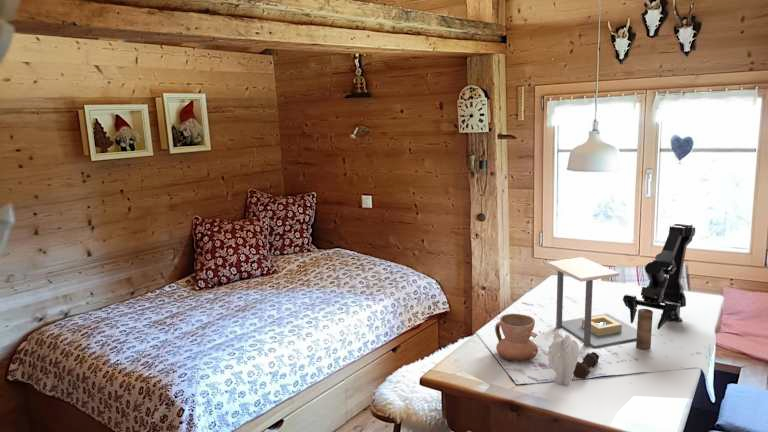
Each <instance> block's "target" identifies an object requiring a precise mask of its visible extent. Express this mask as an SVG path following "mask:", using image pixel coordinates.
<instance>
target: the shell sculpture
mask: <svg viewBox="0 0 768 432" xmlns="http://www.w3.org/2000/svg"><path fill="white" fill-rule="evenodd" d="M552 339H553V340H552V342H551V344H550V345H549V346H548V351H547V355H548V357H547V361H548V363H549V365H550V366H551V368H552V369H553V371H554V373H555V376H554V381H555V383H557V384H560V385H564V386H568V385H570V384H571V382H572V381H573V376H574V374H573V373H574V370H575V367H576V364H577V362H579V361H578V360H579V357H580V355H579V354H580V346H579V343H578V342H577V341H576V340H575V339H571V336H570V334H565V335H564V336H563V334H562V332H561V331H560V332H559V331H558V330H555V332H554V333H553V336H552Z"/></svg>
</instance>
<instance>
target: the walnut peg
mask: <svg viewBox="0 0 768 432" xmlns="http://www.w3.org/2000/svg"><path fill="white" fill-rule="evenodd" d="M653 314H654V312H653V310H651V309H648V308H638V309H637V324H636V329H637V339H636V340H635V341H636V343H635V347H636V349H638V350H640V349H641V351H649V349H650V350H651V344H652V333H653V332H652V331H653V330H652V329H653V318H654V317H653V316H654V315H653Z"/></svg>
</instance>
